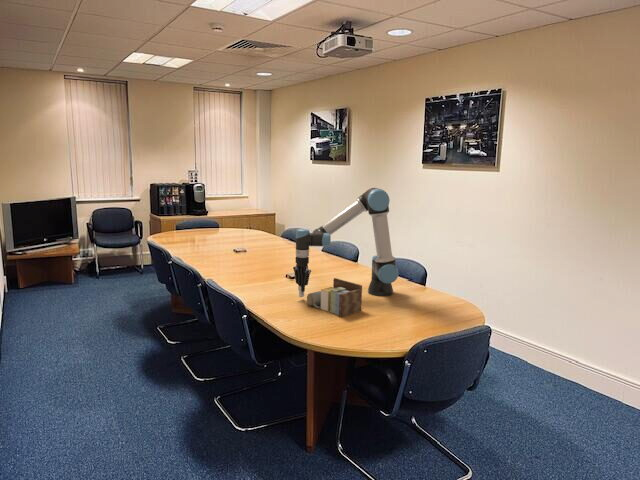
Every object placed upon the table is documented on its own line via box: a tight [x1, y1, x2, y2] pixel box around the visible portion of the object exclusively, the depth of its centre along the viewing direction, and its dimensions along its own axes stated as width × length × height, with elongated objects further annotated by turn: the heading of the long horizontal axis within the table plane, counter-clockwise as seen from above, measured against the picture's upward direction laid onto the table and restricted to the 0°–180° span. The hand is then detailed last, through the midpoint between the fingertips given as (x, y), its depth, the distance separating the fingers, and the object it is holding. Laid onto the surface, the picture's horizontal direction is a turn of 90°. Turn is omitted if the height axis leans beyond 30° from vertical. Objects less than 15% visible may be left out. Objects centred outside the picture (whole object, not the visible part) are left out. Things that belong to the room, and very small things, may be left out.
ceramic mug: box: [306, 290, 321, 310], centre depth 260 cm, size 11×8×8 cm
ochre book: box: [320, 286, 335, 313], centre depth 256 cm, size 8×6×11 cm
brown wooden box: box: [329, 277, 363, 318], centre depth 255 cm, size 16×20×14 cm
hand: (301, 296), depth 272 cm, fingers closed
